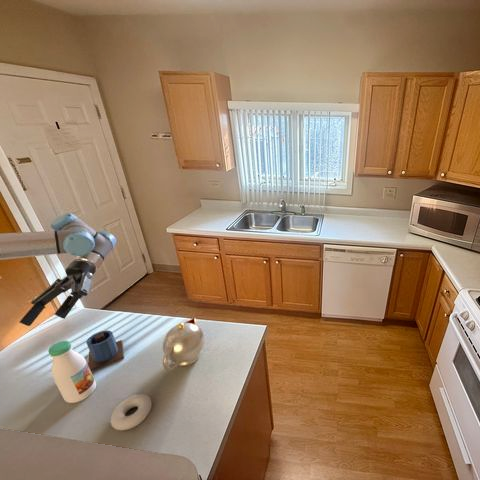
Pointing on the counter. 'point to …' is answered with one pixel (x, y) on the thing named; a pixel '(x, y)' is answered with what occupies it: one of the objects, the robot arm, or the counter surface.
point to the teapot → (183, 344)
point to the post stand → (117, 357)
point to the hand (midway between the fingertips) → (41, 320)
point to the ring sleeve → (102, 347)
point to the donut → (128, 422)
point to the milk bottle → (71, 373)
